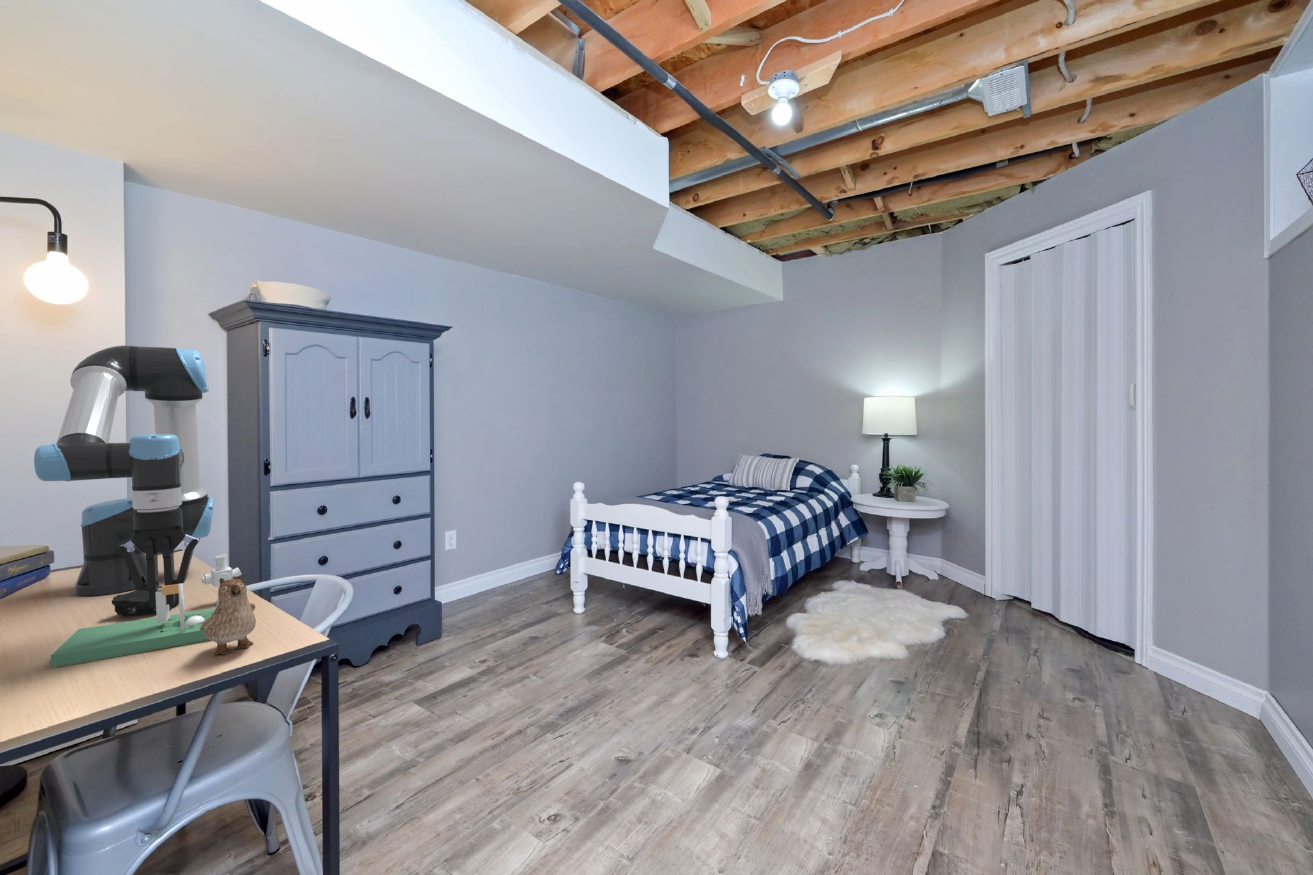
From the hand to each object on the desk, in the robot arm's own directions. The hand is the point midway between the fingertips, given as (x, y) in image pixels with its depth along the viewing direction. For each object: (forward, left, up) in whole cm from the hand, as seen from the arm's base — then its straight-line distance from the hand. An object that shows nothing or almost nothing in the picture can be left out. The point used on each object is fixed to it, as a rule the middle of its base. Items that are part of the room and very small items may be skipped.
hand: (163, 619), depth 113 cm
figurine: (+15, +12, -4) cm, 20 cm away
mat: (0, -2, -4) cm, 4 cm away
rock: (-21, -7, -4) cm, 22 cm away
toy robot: (-19, +8, -4) cm, 21 cm away
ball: (0, +5, -2) cm, 5 cm away
